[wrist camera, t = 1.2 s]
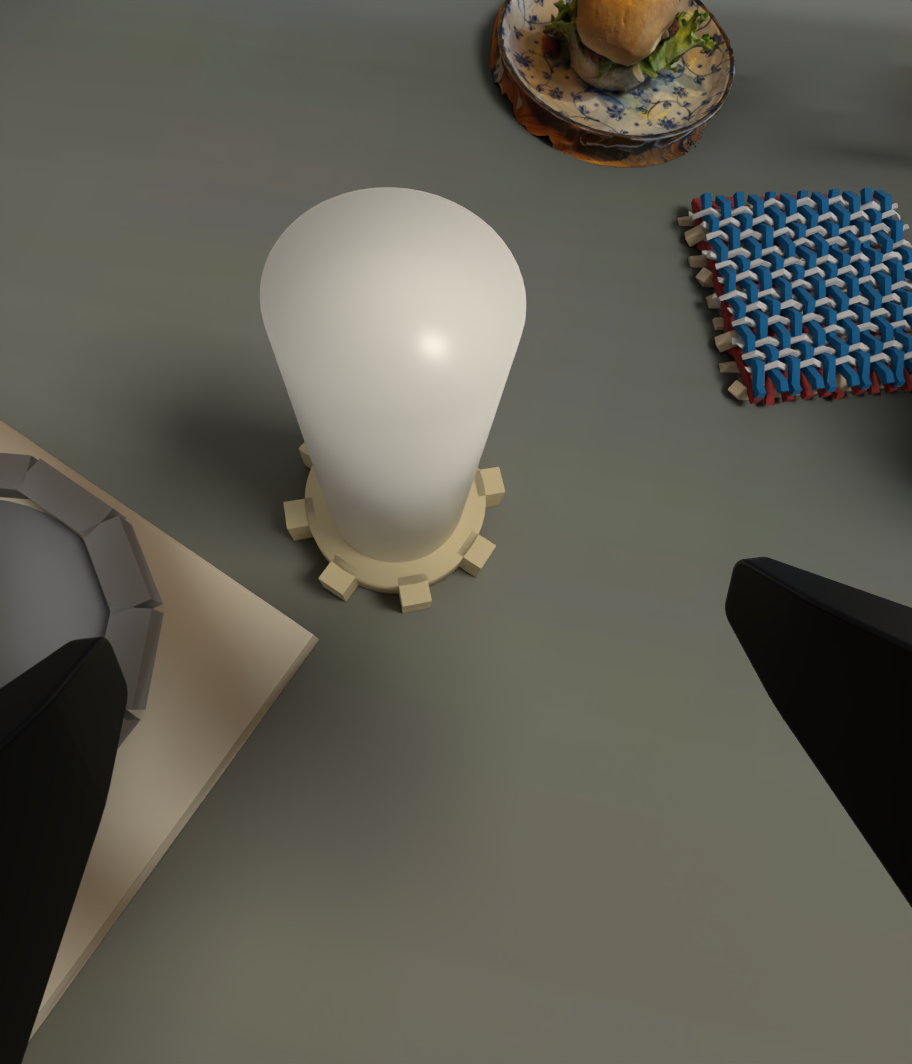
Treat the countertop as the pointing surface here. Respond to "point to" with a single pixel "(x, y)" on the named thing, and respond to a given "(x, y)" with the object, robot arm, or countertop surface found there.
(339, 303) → the gear spindle
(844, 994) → the countertop surface
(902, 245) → the woven mat
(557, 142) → the burger
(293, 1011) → the countertop surface
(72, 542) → the gear board
